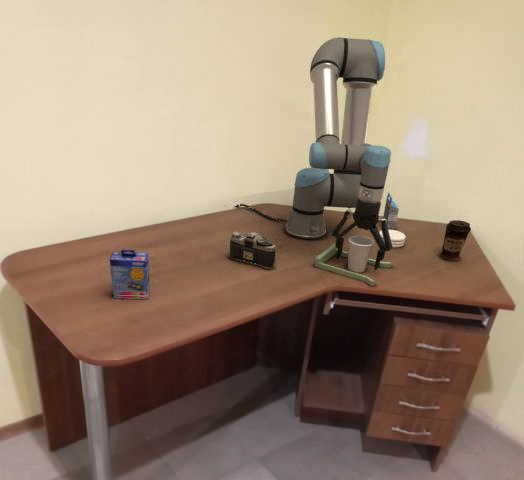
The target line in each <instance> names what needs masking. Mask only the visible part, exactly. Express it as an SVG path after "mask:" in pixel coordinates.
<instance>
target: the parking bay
mask: <svg viewBox="0 0 524 480" xmlns="http://www.w3.org/2000/svg"><path fill="white" fill-rule="evenodd" d="M335 245H336V243H333V244H332V245H330V246H329V247H328V248H327V249H325V250H324V251H322V252H321V253H319V254H318V255H317V256H316V257H315V259H314V265H313V266H314V267H316V268H319V269H322V270H326V271H329V272H333V273H335V274H340V275H342V276H346V277H349V278H352V279H356V280H359V281H362V282H365V283H366V284H368V285H369V286H371V287H373V286H374V285H375V280H373V279H372V278H370V277H369V276H367V275H363V274H361V273H358V272H353V271H351V270H347V269H344V268H340V267H337V266H333V265H330V264H328V263H325V262H327V261H328V260H330V259H331V258H332V257H333V256H335V255H337V249H338V248H336V247H335ZM348 253H349V251H344V250H342V254H341V257H345V258H348ZM375 262H376V259H373V258H370V257H369V258H368V261H367V264H369V265H372V266H375ZM391 267H392V262H391V261H380V264H379V268H389V269H390V268H391Z"/></svg>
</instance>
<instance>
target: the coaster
mask: <svg viewBox="0 0 524 480" xmlns="http://www.w3.org/2000/svg"><path fill="white" fill-rule="evenodd" d="M388 231H389V235H390V239H391V243H392V249H394V248H395V249H396V248H398V249H399V248H401V247H404V246H405V242H406V235H405V234H404V233H403V232H402V231H399V230H396V229H388ZM379 233H380V235H381V237H382V239H383V241H384V238H383V234H382V230H380V231H379ZM384 243H385V242H384Z"/></svg>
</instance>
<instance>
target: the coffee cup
mask: <svg viewBox="0 0 524 480" xmlns="http://www.w3.org/2000/svg"><path fill="white" fill-rule="evenodd" d="M445 228H446V229H445V233H444V238H443V243H442V248H441V254H440V258H442V259H445V260H448V261H459V259H460V255H461V252H462V250H463V248H464V246H465V244H466V241H467V238H468V235H469V233H470V232H471V231H472V228H471V224H470V223H469V222H467V221H465V220H461V219H460V220H459V219H453V220H450V221H449V222H448V223H447V224H446V225H445Z"/></svg>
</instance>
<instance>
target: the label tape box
mask: <svg viewBox="0 0 524 480" xmlns="http://www.w3.org/2000/svg"><path fill="white" fill-rule="evenodd" d="M399 210H400V209H399V207H398V205H397V204H396V202H395V201H394V200H393V197H392V195H391V193H390V192H389V191H388V192H387V194H386V200H385V205H384V210H383V215H382V219H388V225H387V226H388V230H396V227H397V221H398V215H399Z"/></svg>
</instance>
